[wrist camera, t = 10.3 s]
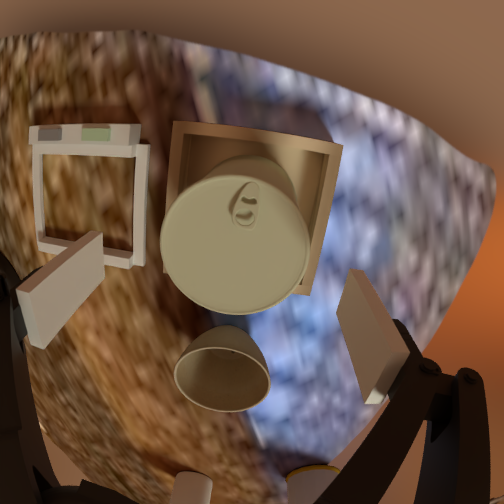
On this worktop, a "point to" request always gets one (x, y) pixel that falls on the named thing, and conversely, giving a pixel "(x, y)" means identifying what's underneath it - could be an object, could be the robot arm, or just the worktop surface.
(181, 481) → the pill bottle
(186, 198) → the can
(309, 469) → the soap bottle
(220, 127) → the open box
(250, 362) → the flower pot
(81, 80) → the worktop surface
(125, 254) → the white square frame
